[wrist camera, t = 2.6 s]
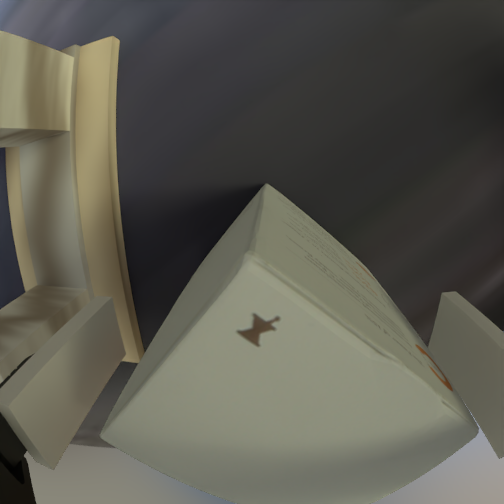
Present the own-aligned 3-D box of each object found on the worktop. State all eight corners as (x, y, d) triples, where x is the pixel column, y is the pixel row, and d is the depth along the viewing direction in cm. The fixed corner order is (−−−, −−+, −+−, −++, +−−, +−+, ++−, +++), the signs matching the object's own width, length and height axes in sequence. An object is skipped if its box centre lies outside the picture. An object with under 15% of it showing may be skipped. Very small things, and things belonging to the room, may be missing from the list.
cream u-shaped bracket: (119, 40, 14) (10, -25, 4) (145, 355, 20) (81, 465, 10) (17, 81, 15) (-84, 69, 4) (48, 339, 21) (-23, 411, 11)
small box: (199, 264, 18) (88, 436, 5) (266, 180, 16) (247, 237, 4) (300, 339, 19) (320, 529, 6) (369, 268, 17) (488, 430, 5)
